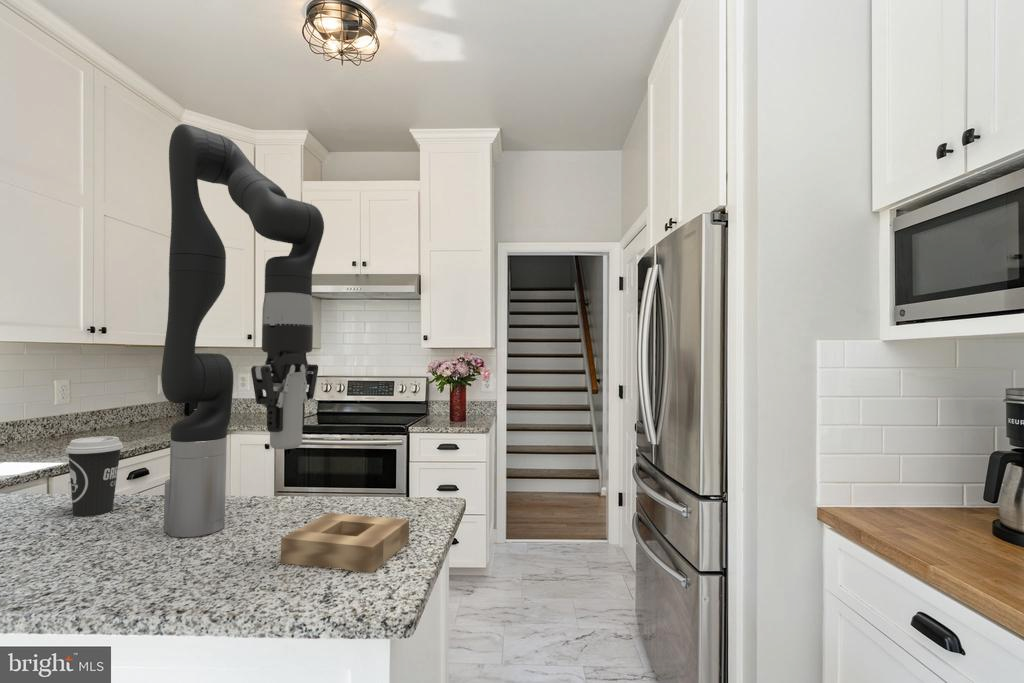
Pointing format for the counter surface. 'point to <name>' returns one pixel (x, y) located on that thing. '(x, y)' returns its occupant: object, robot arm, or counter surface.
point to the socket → (345, 542)
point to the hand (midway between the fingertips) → (286, 428)
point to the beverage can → (290, 415)
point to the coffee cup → (93, 474)
